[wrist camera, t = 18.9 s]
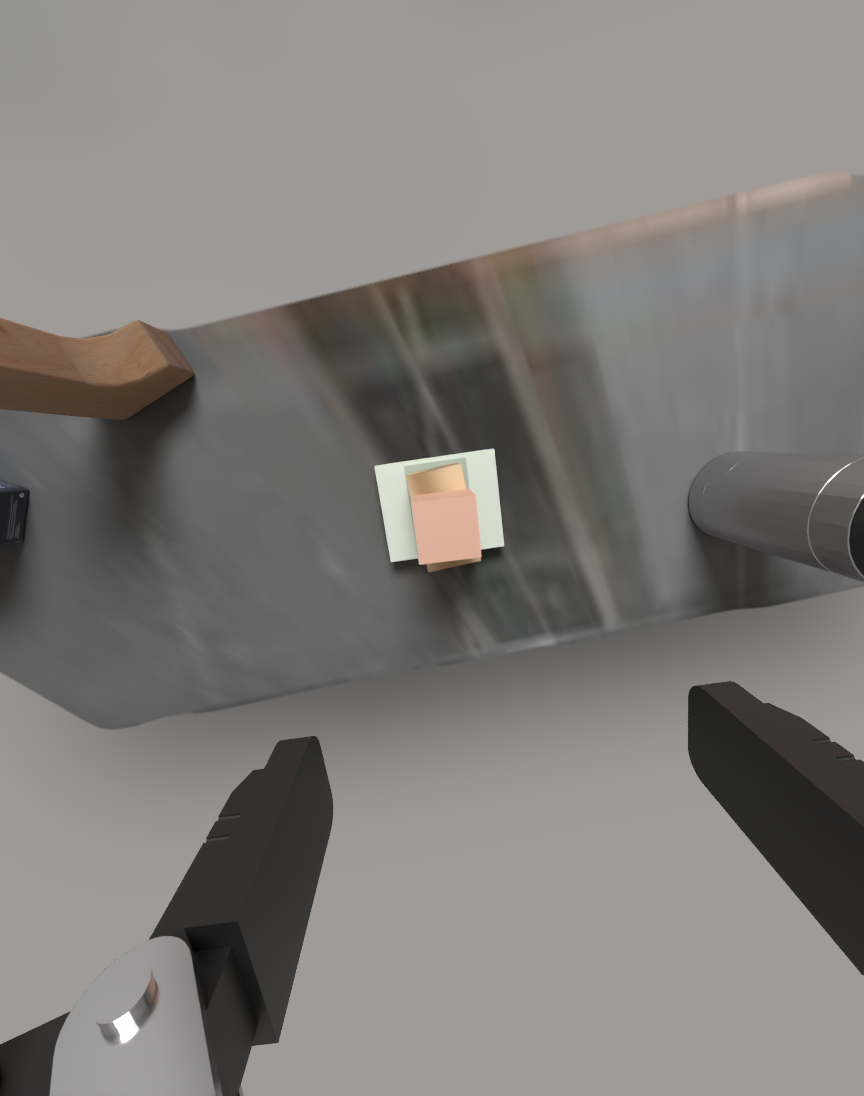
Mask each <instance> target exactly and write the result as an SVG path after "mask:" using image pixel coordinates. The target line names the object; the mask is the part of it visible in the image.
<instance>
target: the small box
mask: <svg viewBox="0 0 864 1096" xmlns="http://www.w3.org/2000/svg"><path fill="white" fill-rule="evenodd" d="M27 498H28V489H27V488H24V487H21V486H18V485H14V484H11V483H8V482H5V481H2V480H0V546H1V545H7V544H12V543H18V542H21V541H22V538H23V530H24V529H23V528H24V520H25V513H26V506H27Z"/></svg>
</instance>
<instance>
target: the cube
mask: <svg viewBox="0 0 864 1096" xmlns="http://www.w3.org/2000/svg"><path fill="white" fill-rule="evenodd" d="M411 507H412V514H413V522H414V529H415V536H416V544H417V551H418V558H419V565H422V564H430V563H438V562H446V561H455V560H463V559H471V558H479V557H482V556H481V546H480V536H479V525H478V515H477V505H476V495H475V494H474V493H473V492H472V491H471V490H470V489H462V490H455V491H447V492H439V493H431V494H423V495H415V496H413V497H412V501H411Z"/></svg>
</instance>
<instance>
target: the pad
mask: <svg viewBox="0 0 864 1096" xmlns="http://www.w3.org/2000/svg"><path fill="white" fill-rule="evenodd" d="M456 462H457V463H460V464H461V466H462V471H463V476H464V481H465V486H466V489H470V490H471V491H472V492H473V493H474V494H475V495H476V505H477V515H478V525H479V536H480V546H481V549H488V548H495V547H502V546H504V539H503V529H502V520H501V510H500V500H499V490H498V481H497V471H496V461H495V451H494V449H487V450H480V451H473V452H466V453H459V454H452V455H445V456H439V457H432V458H425V459H418V460H411V461H404V462H397V463H390V464H383V465H377V466H374V467H375V472H376V478H377V484H378V490H379V496H380V502H381V508H382V513H383V519H384V525H385V531H386V537H387V543H388V549H389V554H390V560H391V562H396V561H403V560H410V559H417V558H418V551H417V544H416V536H415V529H414V522H413V514H412V507H411V498H410V494H409V490H408V486H407V481H406V475H407V474H409V473H413V472H417V471H421V470H426V469H430V468H434V467H439V466H443V465H447V464H452V463H456ZM418 561H419V558H418Z"/></svg>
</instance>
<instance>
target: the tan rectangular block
mask: <svg viewBox="0 0 864 1096" xmlns="http://www.w3.org/2000/svg"><path fill="white" fill-rule="evenodd" d="M406 481H407V486H408V490H409V494H410V498H411V501H412V497H413V496H415V495H423V494H431V493H439V492H447V491H455V490H462V489H466V486H465V481H464V476H463V471H462V466H461V464H460V463H457V462H456V463H452V464H447V465H443V466H439V467H434V468H430V469H426V470H421V471H417V472H413V473H409V474H407V475H406ZM478 561H481V558H480V557H479V558H471V559H463V560H455V561H446V562H438V563H430V564H426V565H427V569H428V573H429V572H433V571H438V570H442V569H447V568H451V567H455V566H460V565H464V564H469V563H473V562H478Z"/></svg>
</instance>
